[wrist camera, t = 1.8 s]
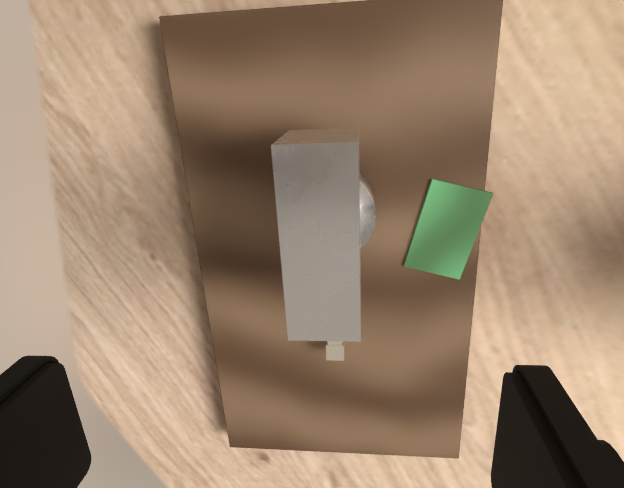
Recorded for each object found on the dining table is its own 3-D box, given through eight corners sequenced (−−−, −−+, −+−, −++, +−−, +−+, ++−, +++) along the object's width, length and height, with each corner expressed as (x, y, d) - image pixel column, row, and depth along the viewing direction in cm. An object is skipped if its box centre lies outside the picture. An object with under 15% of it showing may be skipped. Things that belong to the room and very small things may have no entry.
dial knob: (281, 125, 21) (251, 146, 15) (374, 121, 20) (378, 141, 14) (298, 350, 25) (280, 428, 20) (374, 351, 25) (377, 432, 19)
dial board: (172, 20, 21) (157, 16, 19) (502, -5, 19) (514, -12, 18) (235, 429, 31) (229, 448, 29) (459, 440, 29) (465, 460, 27)
